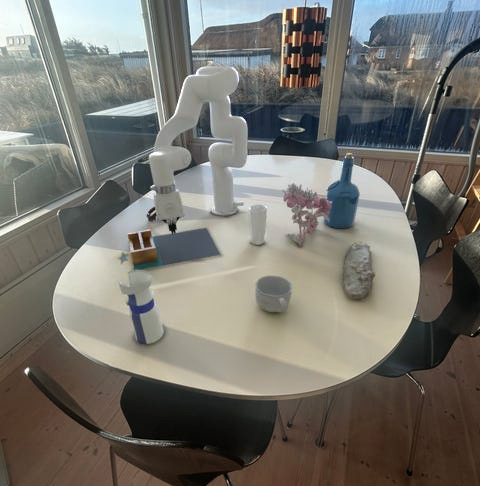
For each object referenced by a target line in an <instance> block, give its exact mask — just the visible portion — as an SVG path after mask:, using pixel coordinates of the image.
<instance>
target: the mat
mask: <svg viewBox="0 0 480 486" xmlns="http://www.w3.org/2000/svg"><path fill="white" fill-rule="evenodd" d="M152 238H153V241H154V245H155V247H156V251H157V256H158V261H153V262H148V263H143V264H138V265H133V270H148V269H153V268H159V267H163V266H168V265H169V266H170V265H174V264H179V263H184V262H188V261H189V262H190V261H196V260H199V259H205V258H206V259H207V258H211V257H215V256H221V253H220V251H219V249H218V247H217V245H216V244H215V242H214V240H213V238H212V236H211V234H210V233H209V231H208V229H207V227H204V228H198V229H197V228H196V229H192V230H185V231H180V232H176V233H173V234H172V233H168V234H162V235H161V234H160V235H155V236H152Z"/></svg>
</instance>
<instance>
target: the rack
mask: <svg viewBox="0 0 480 486" xmlns="http://www.w3.org/2000/svg"><path fill="white" fill-rule="evenodd" d="M152 237H153V234H152V230H151V229H144V230H138V231H132V232H127V238H128V244H129V249H130V251H129V252H130V253H129V254H130V257H131V261H132V264H133V266H134V265H138V264H143V263H148V262H153V261H158V256H157V251H156V247H155V245H154V241H153V238H152Z"/></svg>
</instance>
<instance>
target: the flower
mask: <svg viewBox="0 0 480 486" xmlns="http://www.w3.org/2000/svg"><path fill="white" fill-rule="evenodd" d="M302 186H303V184H299V186H298V185H297V184H295V182H293V183H291V184H287V188H286V190H285V189H282V190H281V192H283V193H284V195H283V198H282V199H283V202H284V203H286V207H287V208H290V209H291V210H290V212H291V213H292V217H291V219H292V224H297V225H298V229H299V231H298V232H299V233H296V232H289V233H287V236H289V237H290V239H291V240H292V241H293V242H296V243H297V244H299V247H301V245H302V243H303V242H304V239H305V238H306V236H307V235H308V233H309V232H312V231H313V230H315V229H316V228H317V227H318V226H319V224H320V222H319V220H318V218H321V217H323V219H324V218H325V219H326V220H328V222H329V218H328V217H327V216H328V215H329V213H330V211H329V209H331V207H332V206H331V204H332V201H328V200H327V198H328V197H327V196H326V197H324V196H320V197H318V196H317V195H318V192H317V191H314V193H313V189H312V188H311V189H309V188H306V190H304V189H303V188H302ZM326 200H327V201H326ZM305 208H306V209H307V210H304V209H305ZM328 208H329V209H328ZM313 209H314V210H315V212H314V213H313V212H312V211H309V210H313ZM302 217H304V219H305V220H303V218H302ZM302 228H303V229H302Z"/></svg>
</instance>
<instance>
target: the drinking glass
mask: <svg viewBox="0 0 480 486" xmlns="http://www.w3.org/2000/svg"><path fill="white" fill-rule="evenodd" d="M267 208H268V207H267V206H266V205H263V204H252V205H250V206H249V207H248V221H249V230H250V243H251V244H252V245H255V246H259V245H260V246H261V245H263V244H264V242H265V234H266V226H267V215H268V212H267V210H268V209H267Z"/></svg>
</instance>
